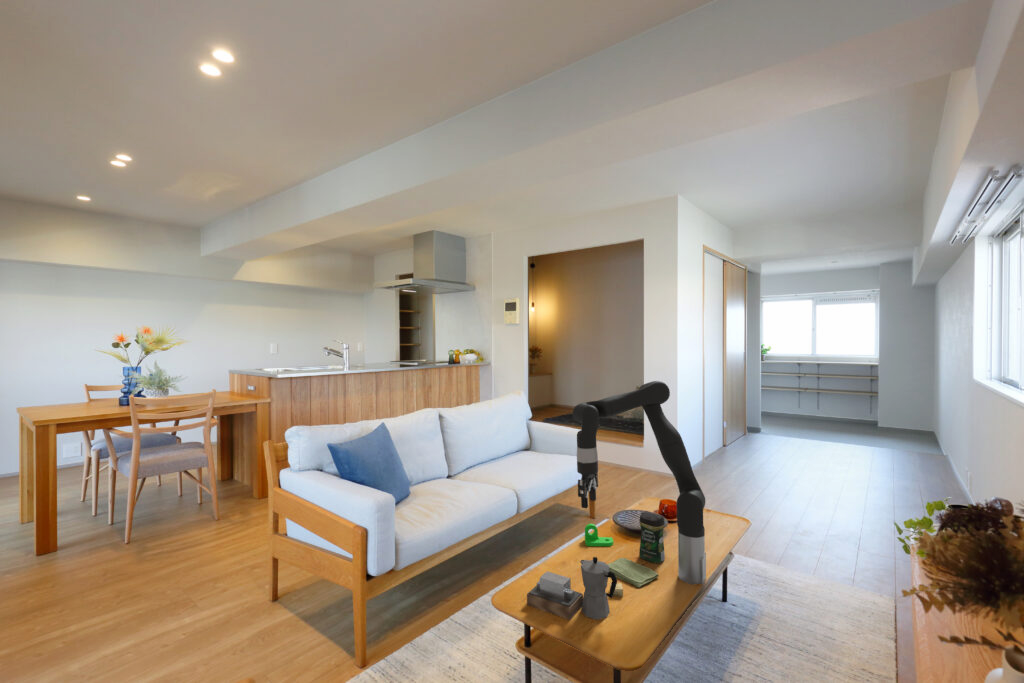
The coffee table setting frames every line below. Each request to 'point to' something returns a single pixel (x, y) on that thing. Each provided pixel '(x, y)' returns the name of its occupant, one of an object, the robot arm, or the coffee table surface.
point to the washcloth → (632, 572)
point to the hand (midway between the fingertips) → (588, 504)
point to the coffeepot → (596, 588)
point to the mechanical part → (596, 537)
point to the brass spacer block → (618, 590)
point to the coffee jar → (652, 537)
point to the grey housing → (555, 586)
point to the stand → (555, 603)
